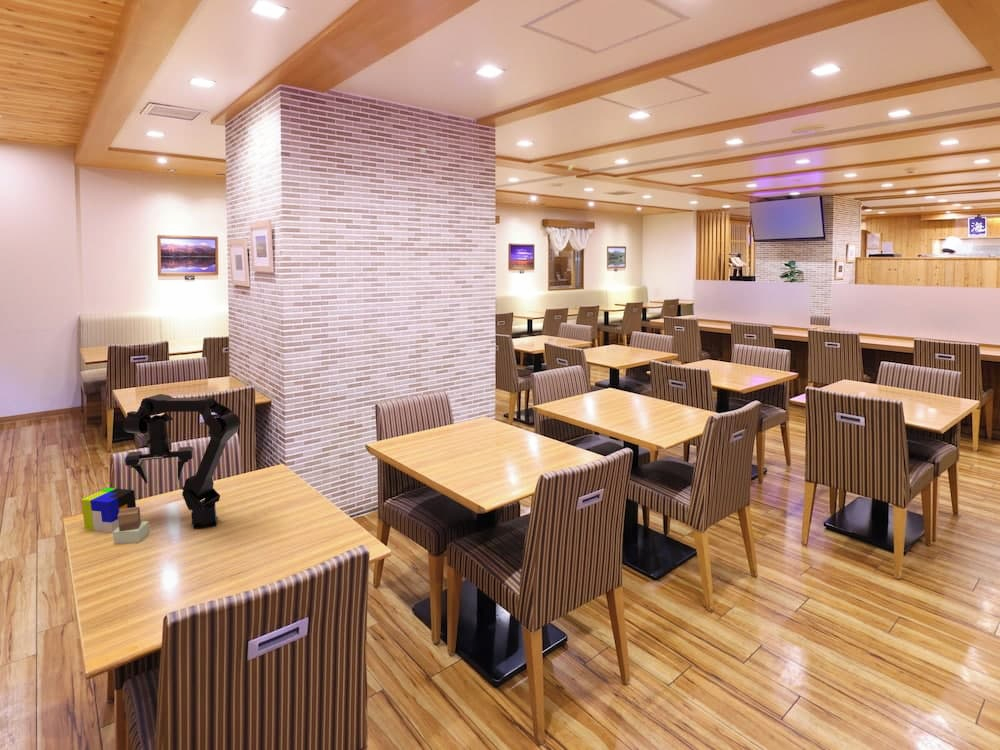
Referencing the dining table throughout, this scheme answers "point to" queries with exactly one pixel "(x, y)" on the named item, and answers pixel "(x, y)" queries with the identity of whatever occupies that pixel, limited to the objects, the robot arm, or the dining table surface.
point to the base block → (132, 534)
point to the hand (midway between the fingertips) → (163, 481)
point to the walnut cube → (129, 519)
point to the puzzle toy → (106, 508)
